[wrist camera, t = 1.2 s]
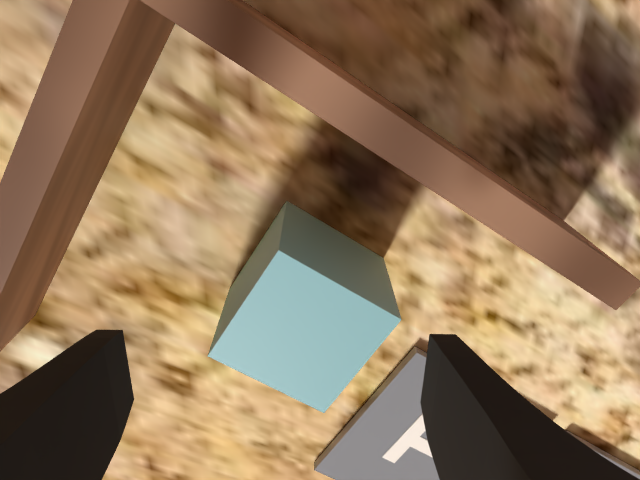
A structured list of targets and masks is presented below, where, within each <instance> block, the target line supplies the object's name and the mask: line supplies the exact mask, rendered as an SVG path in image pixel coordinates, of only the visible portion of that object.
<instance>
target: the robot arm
mask: <svg viewBox="0 0 640 480" xmlns="http://www.w3.org/2000/svg"><path fill="white" fill-rule="evenodd" d="M133 401H134V396H133V390H132V384H131V378H130V372H129V366H128V360H127V354H126V348H125V342H124V336H123V330H95V331H94V332H92V333H90V334H89V335H87V336H85V337H84V338H82V339H81V340H79V341H78V342H77V343H75V344H74V345H72V346H71V347H69V348H68V349H66V350H65V351H63V352H62V353H61V354H59V355H58V356H56V357H55V358H53V359H52V360H51V361H49V362H48V363H46V364H45V365H43V366H42V367H40V368H39V369H37V370H36V371H34V372H33V373H32V374H30V375H29V376H27V377H26V378H24V379H23V380H21V381H20V382H18V383H17V384H15V385H14V386H12V387H10V388H9V389H7V390H6V391H4V392H3V393H1V394H0V480H102V478H103V476H104V474H105V472H106V470H107V468H108V465H109V463H110V461H111V459H112V457H113V455H114V453H115V451H116V449H117V446H118V444H119V442H120V440H121V437H122V434H123V431H124V429H125V426H126V423H127V420H128V417H129V413H130V410H131V407H132V404H133ZM420 403H421V409H422V414H423V420H424V425H425V430H426V435H427V440H428V444H429V448H430V451H431V454H432V457H433V460H434V464H435V467H436V470H437V473H438V476H439V479H440V480H640V479H638V478H637V477H635V476H633V475H632V474H630V473H628V472H627V471H625V470H623V469H622V468H620V467H618V466H617V465H615V464H614V463H612V462H610V461H609V460H607V459H606V458H604V457H603V456H601V455H600V454H598V453H597V452H595V451H594V450H592V449H591V448H589V447H588V446H587V445H585V444H584V443H582V442H581V441H579V440H578V439H577V438H575V437H574V436H572V435H571V434H569V433H568V432H567V431H565V430H564V429H563V428H561V427H560V426H559V425H557V424H556V423H555V422H553V421H552V420H551V419H550V418H548V417H547V416H546V415H545V414H543V413H542V412H541V411H540V410H538V409H537V408H536V407H535V406H533V405H532V404H531V403H530V402H529V401H527V400H526V399H525V398H524V397H523V396H522V395H520V394H519V393H518V392H517V391H516V390H515V389H513V388H512V387H511V386H510V385H509V384H508V383H507V382H506V381H504V380H503V379H502V378H501V377H500V376H499V375H498V374H497V373H496V372H495V371H494V370H493V369H491V368H490V367H489V366H488V365H487V364H486V363H485V362H484V361H483V360H482V359H481V358H480V357H479V356H478V355H477V354H476V353H475V352H474V351H473V350H472V349H470V348H469V347H468V346H467V345H466V344H465V343H464V342H463V341H462V340H461V339H460V338H459V337H458V336H457V335H455V334H430V335H429V343H428V350H427V357H426V365H425V372H424V379H423V386H422V394H421V401H420Z"/></svg>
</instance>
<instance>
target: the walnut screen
mask: <svg viewBox="0 0 640 480" xmlns="http://www.w3.org/2000/svg"><path fill="white" fill-rule="evenodd" d="M175 23H176V24H177V25H179V26H180V27H182V28H183V29H185V30H186V31H188V32H189V33H191V34H192V35H194V36H196V37H197V38H199V39H200V40H202V41H203V42H205V43H206V44H208V45H209V46H211V47H212V48H214V49H216V50H217V51H219V52H220V53H222V54H223V55H225V56H226V57H228V58H229V59H231V60H232V61H234V62H235V63H237V64H239V65H240V66H242V67H243V68H245V69H246V70H248V71H249V72H251V73H252V74H254V75H255V76H257V77H259V78H260V79H262V80H263V81H265V82H266V83H268V84H269V85H271V86H272V87H274V88H275V89H277V90H278V91H280V92H282V93H283V94H285V95H286V96H288V97H289V98H291V99H292V100H294V101H295V102H297V103H298V104H300V105H302V106H303V107H305V108H306V109H308V110H309V111H311V112H312V113H314V114H315V115H317V116H318V117H320V118H321V119H323V120H325V121H326V122H328V123H329V124H331V125H332V126H334V127H335V128H337V129H338V130H340V131H341V132H343V133H345V134H346V135H348V136H349V137H351V138H352V139H354V140H355V141H357V142H358V143H360V144H361V145H363V146H364V147H366V148H368V149H369V150H371V151H372V152H374V153H375V154H377V155H378V156H380V157H381V158H383V159H384V160H386V161H388V162H389V163H391V164H392V165H394V166H395V167H397V168H398V169H400V170H401V171H403V172H404V173H406V174H407V175H409V176H411V177H412V178H414V179H415V180H417V181H418V182H420V183H421V184H423V185H424V186H426V187H427V188H429V189H431V190H432V191H434V192H435V193H437V194H438V195H440V196H441V197H443V198H444V199H446V200H447V201H449V202H450V203H452V204H454V205H455V206H457V207H458V208H460V209H461V210H463V211H464V212H466V213H467V214H469V215H470V216H472V217H474V218H475V219H477V220H478V221H480V222H481V223H483V224H484V225H486V226H487V227H489V228H490V229H492V230H494V231H495V232H497V233H498V234H500V235H501V236H503V237H504V238H506V239H507V240H509V241H510V242H512V243H513V244H515V245H517V246H518V247H520V248H521V249H523V250H524V251H526V252H527V253H529V254H530V255H532V256H533V257H535V258H537V259H538V260H540V261H541V262H543V263H544V264H546V265H547V266H549V267H550V268H552V269H553V270H555V271H556V272H558V273H560V274H561V275H563V276H564V277H566V278H567V279H569V280H570V281H572V282H573V283H575V284H576V285H578V286H580V287H581V288H583V289H584V290H586V291H587V292H589V293H590V294H592V295H593V296H595V297H596V298H598V299H599V300H601V301H603V302H604V303H606V304H607V305H609V306H610V307H612V308H613V309H615V310H617V309H618V308H619V307H620V306H621V305H622V304H623V303H624V302H625V301H626V300H627V299H628V298H629V297H630V296H631V295H632V294H633V293H634V292H635V291H636V290H637V289H638V288H639V287H640V281H639V280H638V279H637V278H636V277H634V276H633V275H632V274H631V273H629V272H628V271H627V270H626V269H624V268H623V267H622V266H620V265H619V264H618V263H617V262H615V261H614V260H613V259H612V258H610V257H609V256H608V255H606V254H605V253H604V252H603V251H601V250H600V249H599V248H598V247H596V246H595V245H594V244H592V243H591V242H590V241H589V240H587V239H586V238H585V237H584V236H582V235H581V234H580V233H578V232H577V231H576V230H575V229H573V228H572V227H571V226H570V225H568V224H567V223H566V222H564V221H563V220H562V219H560V218H559V217H557V216H556V215H554V214H553V213H551V212H550V211H548V210H547V209H546V208H544V207H543V206H541V205H540V204H538V203H537V202H535V201H534V200H532V199H531V198H530V197H528V196H527V195H525V194H524V193H522V192H521V191H519V190H518V189H516V188H515V187H514V186H512V185H511V184H509V183H508V182H506V181H505V180H503V179H502V178H500V177H499V176H497V175H496V174H495V173H493V172H492V171H490V170H489V169H487V168H486V167H484V166H483V165H481V164H480V163H479V162H477V161H476V160H474V159H473V158H471V157H470V156H468V155H467V154H465V153H464V152H463V151H461V150H460V149H458V148H457V147H455V146H454V145H452V144H451V143H449V142H448V141H446V140H445V139H444V138H442V137H441V136H439V135H438V134H436V133H435V132H433V131H432V130H430V129H429V128H428V127H426V126H425V125H423V124H422V123H420V122H419V121H417V120H416V119H414V118H413V117H412V116H410V115H409V114H407V113H406V112H404V111H403V110H401V109H400V108H398V107H397V106H395V105H394V104H393V103H391V102H390V101H388V100H387V99H385V98H384V97H382V96H381V95H379V94H378V93H377V92H375V91H374V90H372V89H371V88H369V87H368V86H366V85H365V84H363V83H362V82H361V81H359V80H358V79H356V78H355V77H353V76H352V75H350V74H349V73H347V72H346V71H344V70H343V69H342V68H340V67H339V66H337V65H336V64H334V63H333V62H331V61H330V60H328V59H327V58H326V57H324V56H323V55H321V54H320V53H318V52H317V51H315V50H314V49H312V48H311V47H310V46H308V45H307V44H305V43H304V42H302V41H301V40H299V39H298V38H296V37H295V36H294V35H292V34H291V33H289V32H288V31H286V30H285V29H283V28H282V27H280V26H279V25H277V24H276V23H275V22H273V21H272V20H270V19H269V18H267V17H266V16H264V15H263V14H261V13H260V12H259V11H257V10H256V9H254V8H253V7H251V6H250V5H248V4H247V3H245V2H244V1H243V0H73V1H72V4H71V6H70V9H69V11H68V14H67V16H66V19H65V21H64V24H63V26H62V29H61V31H60V34H59V36H58V39H57V41H56V44H55V47H54V49H53V52H52V54H51V57H50V59H49V62H48V64H47V67H46V69H45V72H44V74H43V77H42V79H41V82H40V84H39V87H38V89H37V92H36V94H35V97H34V99H33V102H32V104H31V107H30V110H29V112H28V115H27V117H26V120H25V122H24V125H23V127H22V130H21V132H20V135H19V137H18V140H17V142H16V145H15V147H14V150H13V152H12V155H11V157H10V160H9V162H8V165H7V167H6V170H5V173H4V175H3V178H2V180H1V183H0V351H1V350H2V349H3V348H4V347H5V346H6V345H7V344H8V343H9V342H10V341H11V340H12V339H13V338H14V337H15V336H16V335H17V334H18V332H19V331H20V330H21V329H22V328H23V327H24V326H25V325H26V324H27V323H28V322H29V321H30V320H31V319H32V318H33V317H34V316H35V314H36V312H37V310H38V308H39V306H40V304H41V302H42V300H43V298H44V296H45V293H46V291H47V289H48V287H49V285H50V283H51V281H52V279H53V277H54V275H55V273H56V271H57V268H58V266H59V264H60V262H61V260H62V258H63V256H64V254H65V252H66V250H67V248H68V245H69V243H70V241H71V239H72V237H73V235H74V233H75V231H76V229H77V227H78V225H79V223H80V220H81V218H82V216H83V214H84V212H85V210H86V208H87V206H88V204H89V202H90V200H91V198H92V195H93V193H94V191H95V189H96V187H97V185H98V183H99V181H100V179H101V177H102V175H103V172H104V170H105V168H106V166H107V164H108V162H109V160H110V158H111V156H112V154H113V152H114V150H115V147H116V145H117V143H118V141H119V139H120V137H121V135H122V133H123V131H124V129H125V127H126V125H127V122H128V120H129V118H130V116H131V114H132V112H133V110H134V108H135V106H136V104H137V102H138V100H139V97H140V95H141V93H142V91H143V89H144V87H145V85H146V83H147V81H148V79H149V77H150V74H151V72H152V70H153V68H154V66H155V64H156V62H157V60H158V58H159V56H160V54H161V52H162V49H163V47H164V45H165V43H166V41H167V39H168V37H169V35H170V33H171V31H172V29H173V27H174V24H175Z"/></svg>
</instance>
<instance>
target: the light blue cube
mask: <svg viewBox="0 0 640 480" xmlns="http://www.w3.org/2000/svg"><path fill="white" fill-rule="evenodd" d="M400 321H401V316H400V313H399V309H398V306H397V303H396V299H395V296H394V292H393V289H392V285H391V282H390V279H389V275H388V272H387V268H386V265H385V262H384V258H383V257H381V256H379V255H378V254H376V253H374V252H372V251H371V250H369V249H367V248H366V247H364V246H362V245H361V244H359V243H357V242H356V241H354V240H352V239H351V238H349V237H347V236H345V235H344V234H342V233H340V232H339V231H337V230H335V229H334V228H332V227H330V226H329V225H327V224H325V223H324V222H322V221H320V220H319V219H317V218H315V217H313V216H312V215H310V214H308V213H307V212H305V211H303V210H302V209H300V208H298V207H297V206H295V205H293V204H292V203H290V202H288V201H286V202H285V204H284V205H283V207H282V208H281V210H280V211H279V213H278V215H277V216H276V218H275V219H274V221H273V222H272V224H271V225H270V227H269V228H268V230H267V232H266V233H265V235H264V236H263V238H262V239H261V241H260V242H259V244H258V245H257V247H256V249H255V250H254V252H253V253H252V255H251V256H250V258H249V259H248V261H247V263H246V264H245V266H244V267H243V269H242V270H241V272H240V273H239V275H238V276H237V278H236V280H235V281H234V283H233V284H232V286H231V287H230V289H229V292H228V295H227V298H226V301H225V304H224V307H223V310H222V314H221V317H220V320H219V323H218V326H217V329H216V332H215V335H214V338H213V341H212V344H211V347H210V351H209V354H208V356H209V357H211V358H213V359H215V360H217V361H219V362H221V363H223V364H225V365H227V366H229V367H231V368H233V369H235V370H237V371H239V372H241V373H243V374H245V375H247V376H249V377H251V378H253V379H255V380H258V381H260V382H262V383H264V384H266V385H268V386H270V387H272V388H274V389H276V390H278V391H280V392H282V393H284V394H286V395H288V396H290V397H292V398H294V399H296V400H298V401H300V402H302V403H305V404H307V405H309V406H311V407H313V408H315V409H317V410H319V411H321V412H323V413H324V412H325V411H326V410H327V409H328V408H329V406H330V405H331V404H332V403H333V402H334V400H335V399H336V398H337V397H338V396H339V394H340V393H341V392H342V391H343V390H344V388H345V387H346V386H347V385H348V383H349V382H350V381H351V380H352V379H353V377H354V376H355V375H356V374H357V373H358V371H359V370H360V369H361V368H362V367H363V365H364V364H365V363H366V362H367V361H368V359H369V358H370V357H371V356H372V355H373V353H374V352H375V351H376V350H377V349H378V347H379V346H380V345H381V344H382V343H383V341H384V340H385V339H386V338H387V336H388V335H389V334H390V333H391V332H392V330H393V329H394V328H395V327H396V326H397V324H398V323H399V322H400Z"/></svg>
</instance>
